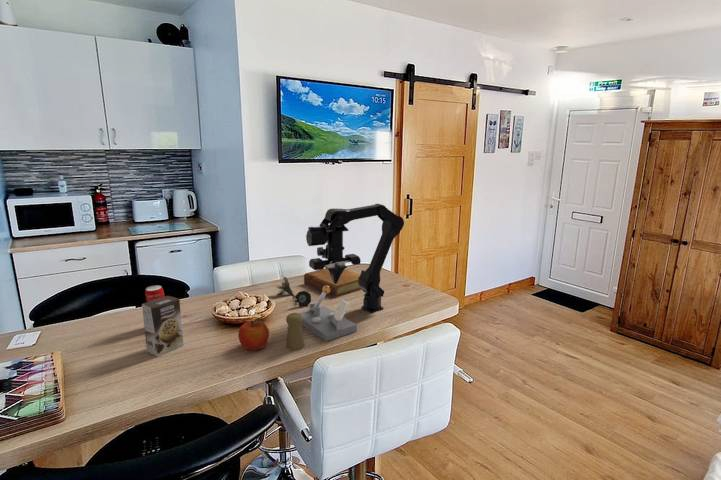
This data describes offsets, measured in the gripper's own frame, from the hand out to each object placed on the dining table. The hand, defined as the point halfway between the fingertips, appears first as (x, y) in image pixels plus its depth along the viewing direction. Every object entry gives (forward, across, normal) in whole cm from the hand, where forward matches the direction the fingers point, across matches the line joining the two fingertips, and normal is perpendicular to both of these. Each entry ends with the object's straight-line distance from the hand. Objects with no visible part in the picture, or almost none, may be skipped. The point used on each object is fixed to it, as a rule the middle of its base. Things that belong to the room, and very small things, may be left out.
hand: (335, 283), depth 153 cm
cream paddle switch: (+10, +6, +13) cm, 18 cm away
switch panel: (+13, +7, +6) cm, 16 cm away
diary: (+14, -14, -31) cm, 36 cm away
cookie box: (+13, +59, -1) cm, 60 cm away
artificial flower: (+14, +9, -25) cm, 30 cm away
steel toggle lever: (+10, +9, -1) cm, 13 cm away
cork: (+13, +22, +16) cm, 30 cm away
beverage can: (+13, +60, -19) cm, 64 cm away
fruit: (+13, +34, +11) cm, 38 cm away
